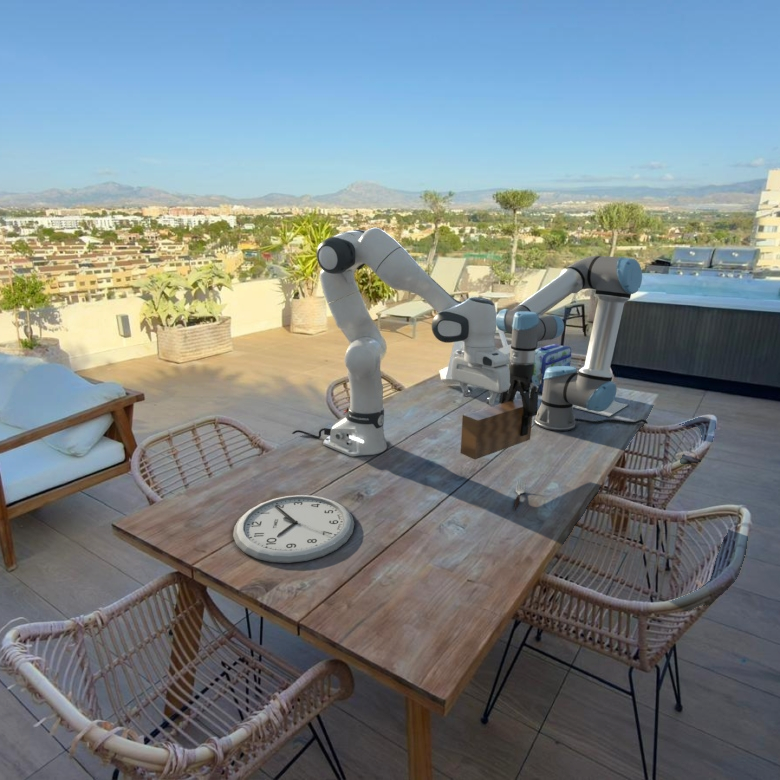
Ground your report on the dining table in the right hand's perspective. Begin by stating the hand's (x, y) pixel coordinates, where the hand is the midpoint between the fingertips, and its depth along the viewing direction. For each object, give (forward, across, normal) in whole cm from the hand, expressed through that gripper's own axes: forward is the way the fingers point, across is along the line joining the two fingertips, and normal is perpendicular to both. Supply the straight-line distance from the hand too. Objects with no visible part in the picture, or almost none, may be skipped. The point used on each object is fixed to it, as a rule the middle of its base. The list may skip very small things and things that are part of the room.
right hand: (515, 431), depth 169 cm
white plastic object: (+11, -58, +47) cm, 75 cm away
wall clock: (+10, -7, -76) cm, 77 cm away
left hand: (-14, -1, -18) cm, 23 cm away
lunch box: (+11, -43, +78) cm, 89 cm away
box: (+3, 0, -9) cm, 9 cm away
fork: (+10, +17, -19) cm, 28 cm away
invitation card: (+11, -13, +75) cm, 77 cm away
